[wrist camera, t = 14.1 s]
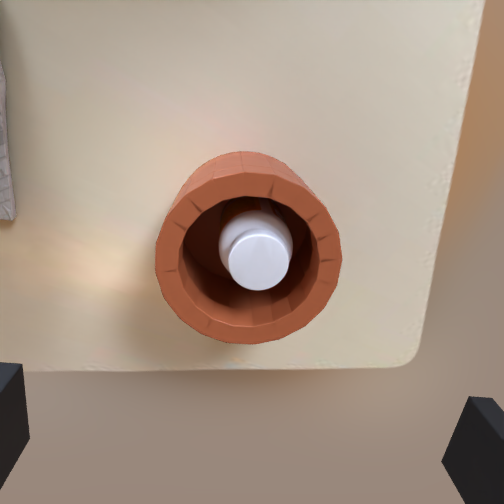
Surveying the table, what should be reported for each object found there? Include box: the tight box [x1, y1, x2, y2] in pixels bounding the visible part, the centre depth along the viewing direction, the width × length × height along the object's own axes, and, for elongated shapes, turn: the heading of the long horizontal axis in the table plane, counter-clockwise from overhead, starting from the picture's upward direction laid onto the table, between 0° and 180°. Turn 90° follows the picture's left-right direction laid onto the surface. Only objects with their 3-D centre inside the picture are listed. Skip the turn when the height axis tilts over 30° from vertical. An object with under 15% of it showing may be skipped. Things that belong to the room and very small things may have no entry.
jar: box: [155, 151, 342, 344], centre depth 31 cm, size 12×12×10 cm
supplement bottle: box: [219, 196, 293, 290], centre depth 30 cm, size 5×5×10 cm
